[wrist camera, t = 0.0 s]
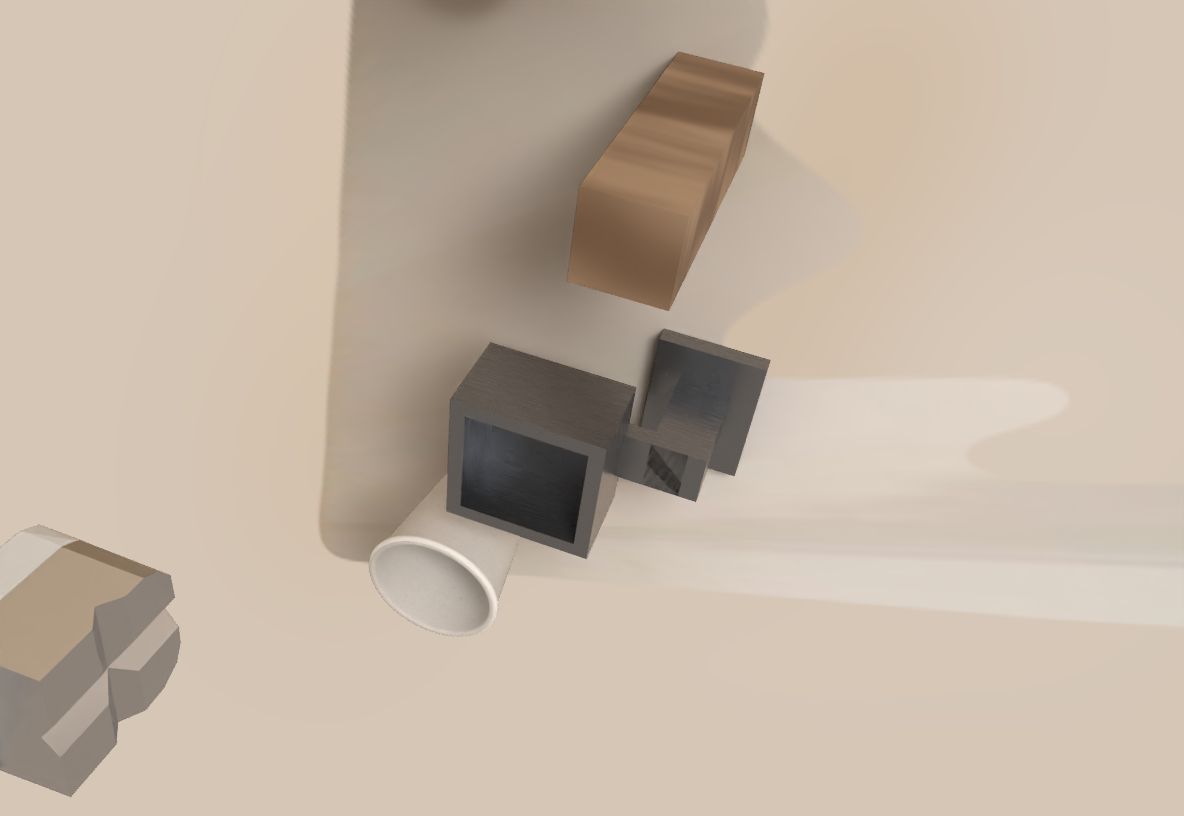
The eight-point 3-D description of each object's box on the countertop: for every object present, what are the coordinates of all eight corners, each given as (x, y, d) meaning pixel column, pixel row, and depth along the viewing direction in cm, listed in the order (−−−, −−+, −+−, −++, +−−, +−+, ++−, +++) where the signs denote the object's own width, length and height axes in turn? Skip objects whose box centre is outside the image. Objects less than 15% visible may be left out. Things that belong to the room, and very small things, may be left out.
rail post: (678, 51, 45) (579, 186, 34) (764, 73, 44) (689, 216, 34) (663, 133, 47) (567, 281, 37) (744, 154, 47) (668, 311, 36)
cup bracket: (528, 288, 56) (450, 399, 48) (770, 360, 53) (729, 488, 46) (517, 395, 61) (445, 511, 53) (737, 465, 59) (696, 596, 51)
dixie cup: (578, 491, 64) (521, 606, 57) (511, 544, 70) (452, 655, 62) (477, 410, 63) (406, 518, 55) (417, 471, 68) (345, 576, 61)
